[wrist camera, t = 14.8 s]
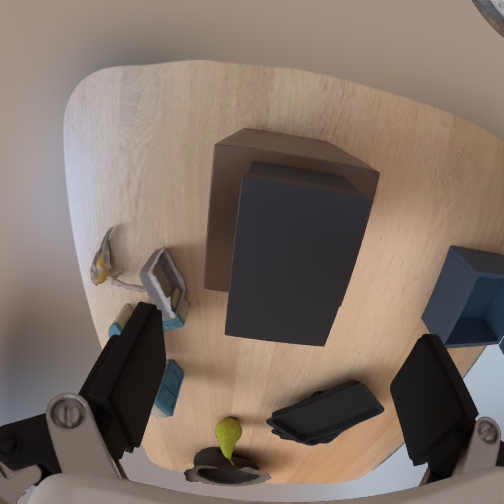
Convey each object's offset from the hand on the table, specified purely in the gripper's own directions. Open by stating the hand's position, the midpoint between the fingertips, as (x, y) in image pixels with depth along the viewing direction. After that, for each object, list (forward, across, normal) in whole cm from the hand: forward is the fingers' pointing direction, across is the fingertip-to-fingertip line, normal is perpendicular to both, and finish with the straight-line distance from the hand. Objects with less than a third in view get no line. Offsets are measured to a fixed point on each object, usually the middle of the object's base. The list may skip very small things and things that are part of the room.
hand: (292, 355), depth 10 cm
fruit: (+28, +1, +53) cm, 60 cm away
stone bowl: (+29, 0, +79) cm, 84 cm away
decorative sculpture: (+28, +18, +14) cm, 37 cm away
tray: (+28, -17, +44) cm, 55 cm away
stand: (+28, 0, 0) cm, 28 cm away
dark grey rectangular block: (+10, 0, 0) cm, 10 cm away
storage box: (+28, -36, +11) cm, 47 cm away
